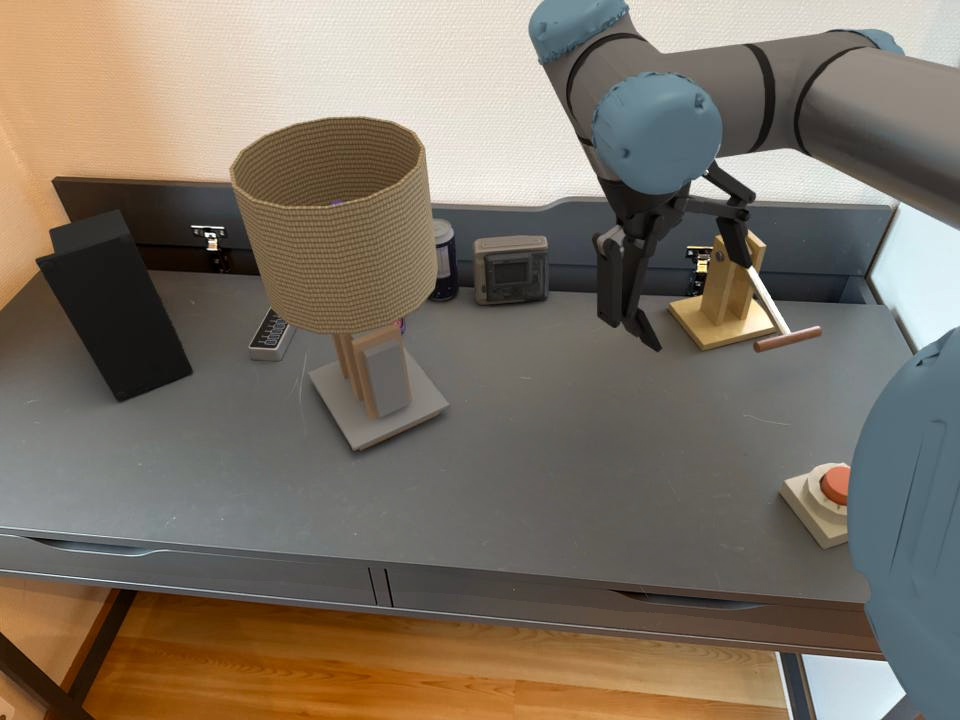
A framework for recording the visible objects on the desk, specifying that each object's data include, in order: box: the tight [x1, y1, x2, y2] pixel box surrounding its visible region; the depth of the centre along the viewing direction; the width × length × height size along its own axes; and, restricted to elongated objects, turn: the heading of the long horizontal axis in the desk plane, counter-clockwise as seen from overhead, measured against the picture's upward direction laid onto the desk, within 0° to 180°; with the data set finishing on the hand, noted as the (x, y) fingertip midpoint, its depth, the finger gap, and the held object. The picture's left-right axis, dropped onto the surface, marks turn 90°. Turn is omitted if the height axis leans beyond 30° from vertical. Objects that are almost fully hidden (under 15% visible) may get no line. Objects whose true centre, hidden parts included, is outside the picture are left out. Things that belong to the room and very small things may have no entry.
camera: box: [471, 234, 550, 306], centre depth 106 cm, size 11×6×10 cm, turn 92°
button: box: [821, 466, 851, 506], centre depth 76 cm, size 4×4×2 cm
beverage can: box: [428, 218, 460, 301], centre depth 107 cm, size 6×6×12 cm
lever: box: [736, 240, 823, 354], centre depth 92 cm, size 16×9×2 cm, turn 17°
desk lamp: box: [228, 115, 451, 452], centre depth 82 cm, size 20×20×35 cm
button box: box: [778, 462, 851, 550], centre depth 77 cm, size 8×8×4 cm
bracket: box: [667, 229, 777, 352], centre depth 98 cm, size 10×12×14 cm
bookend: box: [34, 208, 194, 402], centre depth 98 cm, size 23×11×24 cm, turn 31°
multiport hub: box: [248, 306, 298, 362], centre depth 106 cm, size 4×14×2 cm, turn 172°
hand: (697, 303), depth 77 cm, fingers open, 13 cm apart
